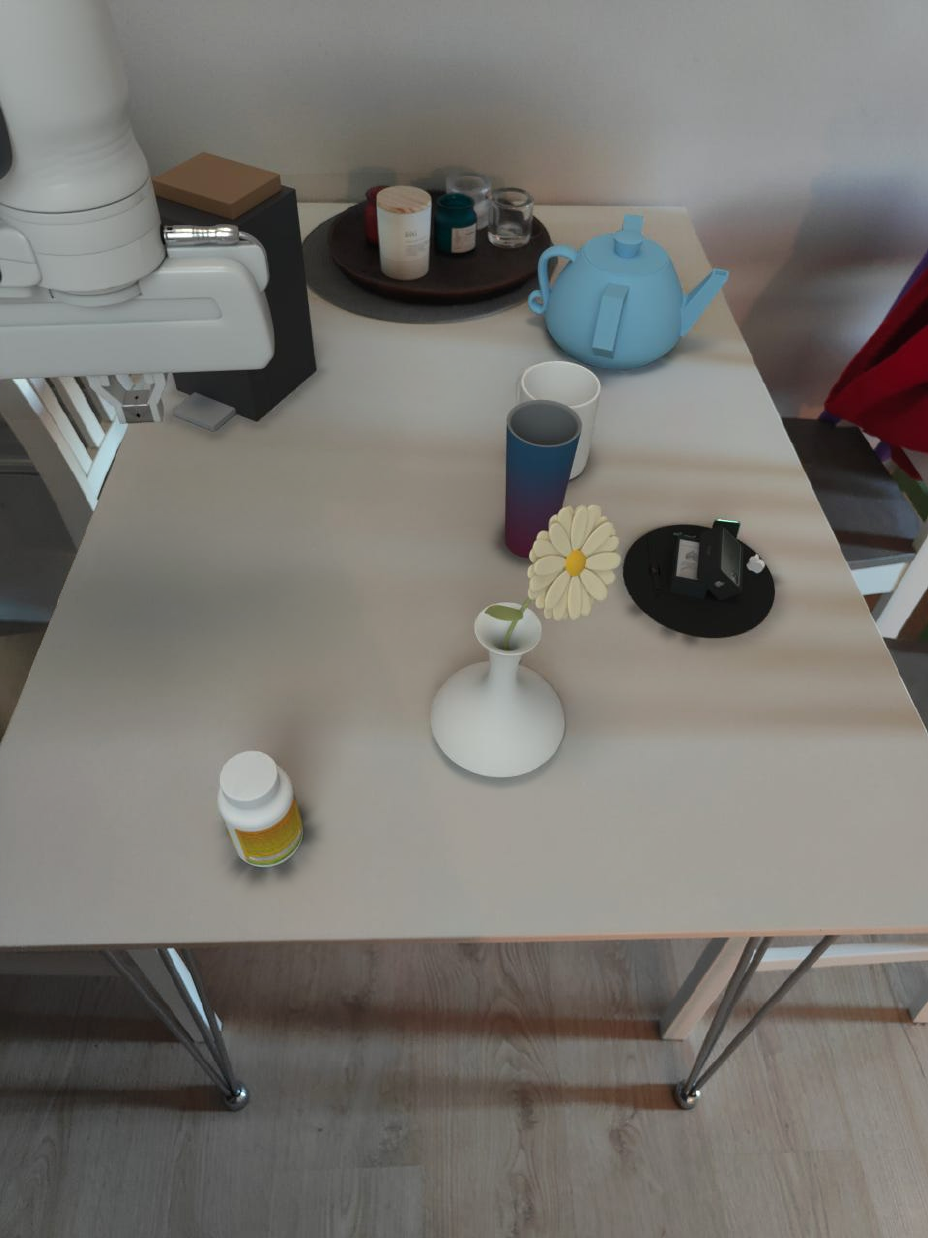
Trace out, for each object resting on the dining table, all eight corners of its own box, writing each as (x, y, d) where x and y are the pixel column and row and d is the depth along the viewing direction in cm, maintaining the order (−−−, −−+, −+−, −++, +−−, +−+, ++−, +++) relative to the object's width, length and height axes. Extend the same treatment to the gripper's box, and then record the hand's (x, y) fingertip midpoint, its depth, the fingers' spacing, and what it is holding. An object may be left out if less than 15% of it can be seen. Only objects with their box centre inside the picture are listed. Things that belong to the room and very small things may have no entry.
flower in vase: (450, 801, 69) (460, 599, 49) (415, 689, 76) (412, 473, 56) (600, 764, 71) (664, 559, 52) (553, 659, 78) (595, 443, 59)
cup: (507, 569, 85) (520, 451, 74) (487, 523, 89) (497, 404, 78) (571, 558, 87) (593, 440, 75) (549, 513, 91) (567, 394, 79)
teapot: (589, 393, 104) (608, 287, 94) (510, 316, 115) (518, 213, 104) (711, 354, 111) (741, 251, 100) (625, 285, 121) (644, 185, 111)
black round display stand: (773, 652, 80) (793, 614, 75) (614, 620, 82) (624, 581, 77) (774, 541, 89) (791, 502, 85) (631, 515, 91) (641, 476, 87)
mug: (485, 430, 99) (490, 352, 91) (546, 412, 102) (556, 335, 94) (536, 493, 93) (546, 416, 85) (600, 472, 95) (616, 395, 87)
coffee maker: (235, 440, 97) (190, 236, 78) (153, 407, 100) (92, 203, 82) (316, 370, 106) (293, 172, 88) (239, 341, 109) (201, 145, 91)
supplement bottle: (318, 830, 67) (304, 768, 59) (268, 883, 64) (247, 825, 56) (268, 792, 69) (249, 727, 61) (219, 841, 66) (192, 780, 58)
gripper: (263, 200, 54) (288, 385, 65) (-81, 206, 52) (5, 397, 62) (261, 249, 50) (289, 438, 61) (-111, 259, 48) (-14, 453, 58)
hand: (142, 418), depth 61 cm, fingers closed
